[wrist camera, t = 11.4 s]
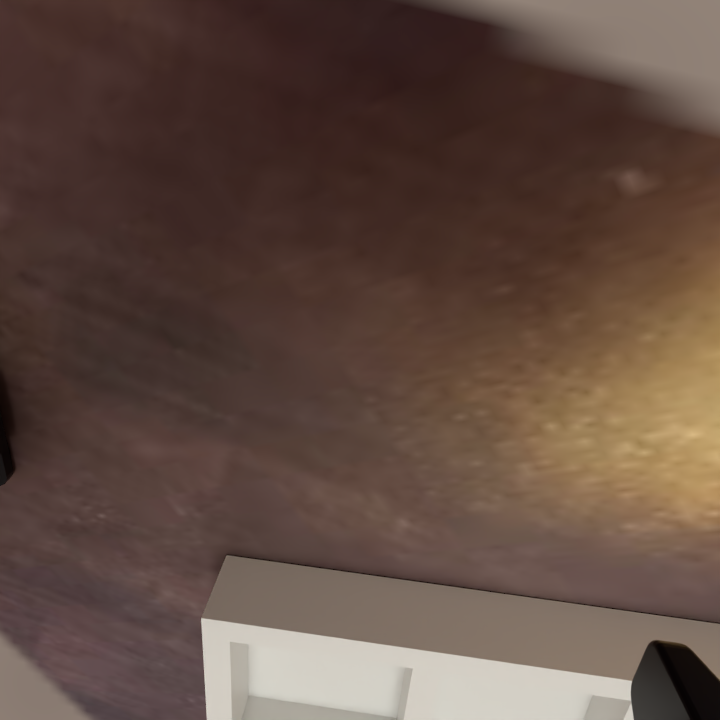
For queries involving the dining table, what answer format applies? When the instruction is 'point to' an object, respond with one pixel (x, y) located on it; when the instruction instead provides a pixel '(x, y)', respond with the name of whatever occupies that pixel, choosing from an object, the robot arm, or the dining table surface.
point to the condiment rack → (418, 649)
